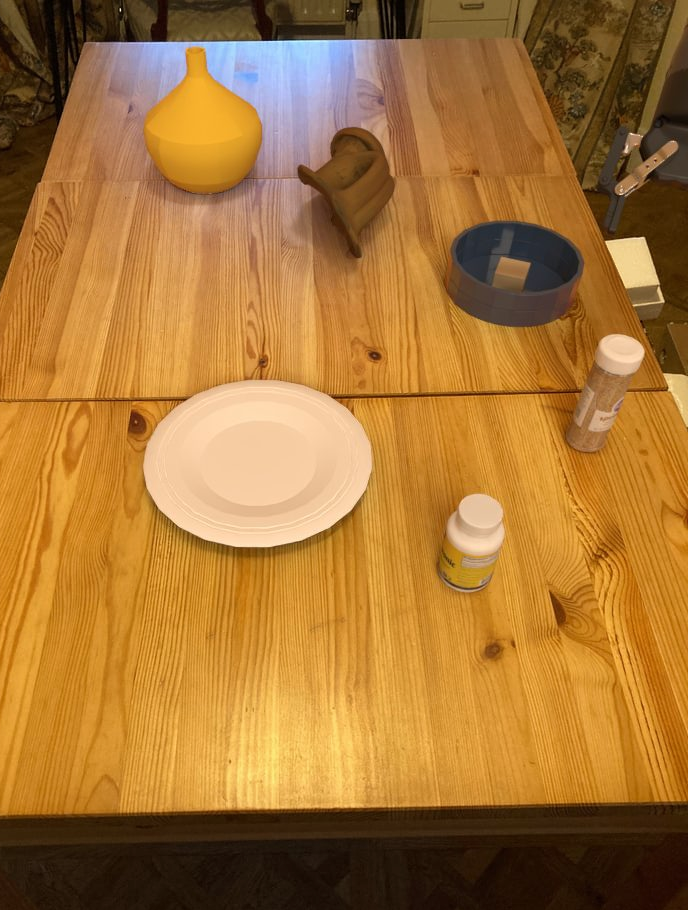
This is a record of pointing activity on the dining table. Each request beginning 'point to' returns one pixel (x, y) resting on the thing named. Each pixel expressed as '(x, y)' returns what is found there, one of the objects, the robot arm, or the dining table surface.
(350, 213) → the brown looped sculpture
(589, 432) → the sprinkles bottle
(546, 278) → the bowl
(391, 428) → the dining table surface
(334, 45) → the dining table surface
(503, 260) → the block
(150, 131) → the vase
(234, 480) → the plate
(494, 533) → the supplement bottle
